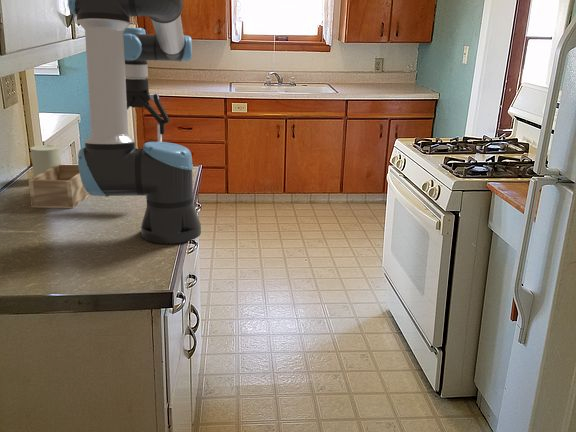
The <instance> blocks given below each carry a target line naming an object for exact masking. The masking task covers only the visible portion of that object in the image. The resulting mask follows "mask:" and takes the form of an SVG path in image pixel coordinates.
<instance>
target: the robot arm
mask: <svg viewBox="0 0 576 432" xmlns="http://www.w3.org/2000/svg"><path fill="white" fill-rule="evenodd" d="M67 7H68V10H69V12H70V13H71V14H72V15H74V16H76V21H77V24H78V25H79V26H80V27H81V28H83V29H84V35H85V36H84V37H85V53H86V54H85V55H86V69H87V71H86V72H87V86H88V87H87V89H88V103H89V119H90V122H89V123H90V135H89V136H88V138H86V139H85V140H84V146H85V147H82V148H81V149H79V150H78V153H77V159H78V160H77V165H78V167H79V173H80V177H81V181H82V184H83V186H84V188H85V190H86V191H87V192H88V193H89V194H90V195H91V196H97V197H99V196H100V197H106V198H108V197H110V196H111V197H116V196H117V197H120V196H121V197H122V196H123V197H125V196H127V197H128V196H129V197H130V196H133V197H134V196H135V197H136V196H138V197H139V196H145V198H146V208H145V212H144V215H143V218H142V223H141V226H140V233H141V238H142V239H144V240H145V241H148V242H151V243H153V244H154V243H155V244H162V243H164V244H167V245H169V244H171V245H172V244H181V243H186V242H190V241H192V240H193V241H194V240H195V239H197V238H199V237H200V236H201V234H202V226H201V225H202V223H201V221H200V218H199V215H198V213H197V210H196V207H195V205H194V184H193V182H194V181H193V169H194V165H193V157H192V152H191V150H190V149H189V148H188V147H186V146H184V145H181V144H178V143H173V142H167V141H163V135H165V131H166V129H165V124H167V123H170V121H171V119H170V118H169V116H168V114H167V111H166V110H165V108H164V106H163V104H162V102H161V100H160V95H159V93H155V94H154V93H153V94H150V91H149V87H150V86H149V79H147V78H148V76H149V71H148V70H149V69H148V61H161V62H162V61H163V62H164V61H166V62H167V61H169V62H189V61H191V60H192V58H193V42H192V41H193V40H192V37H191V36H189V35H185V34H184V28H183V22H182V17H181V14H182V13H183V8H184V2H183V0H67ZM130 17H145V18H146V17H148V18H149V19H151V21H152V25H153V28H154V32H155V34H150V33H149V34H148V33H147V34H146V29H144V28H142V27H130V25H131V24H130ZM150 100H152V101H153V102H154V105H155V106H156V107H157V110H158V111H159V113H160V114H159V113H158V112H157V111H156V110H155V108H154V107H153V106H152V104H151V103H150V102H149V101H150ZM130 107H131V108H138V109H142V108H145V110H147V111H148V112H149V114H150V115H152V117H153V119H155V121H156V122H157V123H158V124H157V125H156V128H157V129H156V130H157V141H147V142H145V143H143V146H142V148H136V140H135V139H134V138H132V136H130V134H129V124H128V123H129V120H128V110H129V108H130ZM160 115H161V116H160ZM168 243H169V244H168Z"/></svg>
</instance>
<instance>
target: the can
mask: <svg viewBox="0 0 576 432" xmlns="http://www.w3.org/2000/svg"><path fill="white" fill-rule="evenodd" d="M30 155H31V156H30V157H31V162H32V163H31V164H32V172H33V178H34V177H35V176H37V175H39V174H41V173H42V172H44V171H46V170H48V169H49V168H51V167H53V166H55V165H62V159H61V158H62V157H61V156H62V155H61V147H60V146H59V145H55V144H42V145H41V144H39V145H34V146H31V147H30Z"/></svg>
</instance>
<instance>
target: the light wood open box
mask: <svg viewBox="0 0 576 432" xmlns="http://www.w3.org/2000/svg"><path fill="white" fill-rule="evenodd" d="M27 181H28V189H29V195H30V205H31V208H42V209H43V208H46V209H47V208H51V209H75V207H77V206H79V205H80V203H82V202H83V201H84V200H85V199H87V198H88V197H89V196H90V195H91V194H89V193H88V192H87V191H86V190H85V188H84V186H83V184H82V181H81V177H80V173H79V167H78V164H61V165H55V166H53V167H51V168H49V169H48V170H46V171H44V172H42V173H41V174H39V175H37V176H35V177H34V176H33V177H31V178H30V179H28V180H27Z"/></svg>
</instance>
